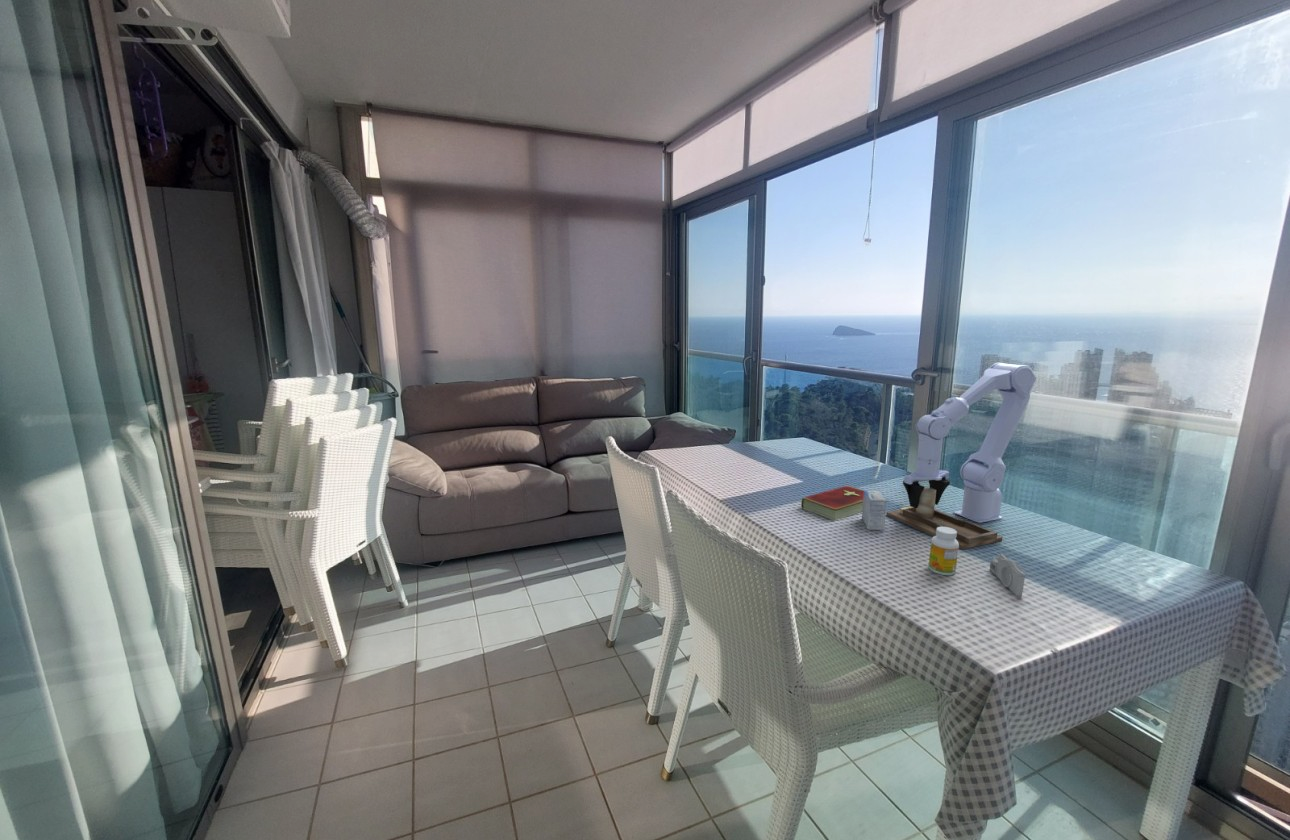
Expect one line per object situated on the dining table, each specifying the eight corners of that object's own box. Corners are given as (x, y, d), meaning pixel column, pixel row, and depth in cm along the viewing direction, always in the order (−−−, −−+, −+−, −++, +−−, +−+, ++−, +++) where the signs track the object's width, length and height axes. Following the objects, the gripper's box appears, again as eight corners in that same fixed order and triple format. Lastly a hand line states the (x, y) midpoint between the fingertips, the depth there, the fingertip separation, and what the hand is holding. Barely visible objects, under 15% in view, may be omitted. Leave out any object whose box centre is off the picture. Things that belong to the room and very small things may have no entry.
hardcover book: (800, 509, 156) (801, 496, 155) (845, 496, 167) (846, 484, 166) (834, 522, 146) (835, 508, 145) (879, 508, 157) (880, 494, 156)
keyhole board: (922, 508, 155) (923, 500, 154) (1001, 540, 133) (1003, 531, 132) (886, 515, 150) (887, 507, 149) (962, 549, 128) (963, 539, 127)
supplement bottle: (923, 564, 120) (928, 525, 118) (947, 564, 120) (952, 525, 118) (935, 575, 115) (940, 534, 113) (960, 576, 115) (965, 535, 113)
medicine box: (884, 531, 139) (887, 500, 137) (867, 529, 140) (869, 499, 138) (877, 520, 146) (880, 490, 145) (861, 518, 147) (863, 489, 146)
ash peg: (923, 512, 149) (926, 486, 147) (936, 518, 145) (940, 491, 143) (911, 514, 147) (914, 488, 146) (924, 520, 143) (927, 493, 142)
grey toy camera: (987, 569, 118) (991, 545, 117) (996, 569, 118) (1000, 545, 116) (1015, 596, 106) (1019, 570, 105) (1024, 597, 106) (1029, 571, 105)
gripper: (921, 465, 137) (916, 513, 140) (961, 459, 142) (955, 506, 145) (899, 458, 144) (895, 504, 146) (938, 453, 149) (933, 498, 151)
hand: (923, 505), depth 146 cm, fingers open, 7 cm apart
